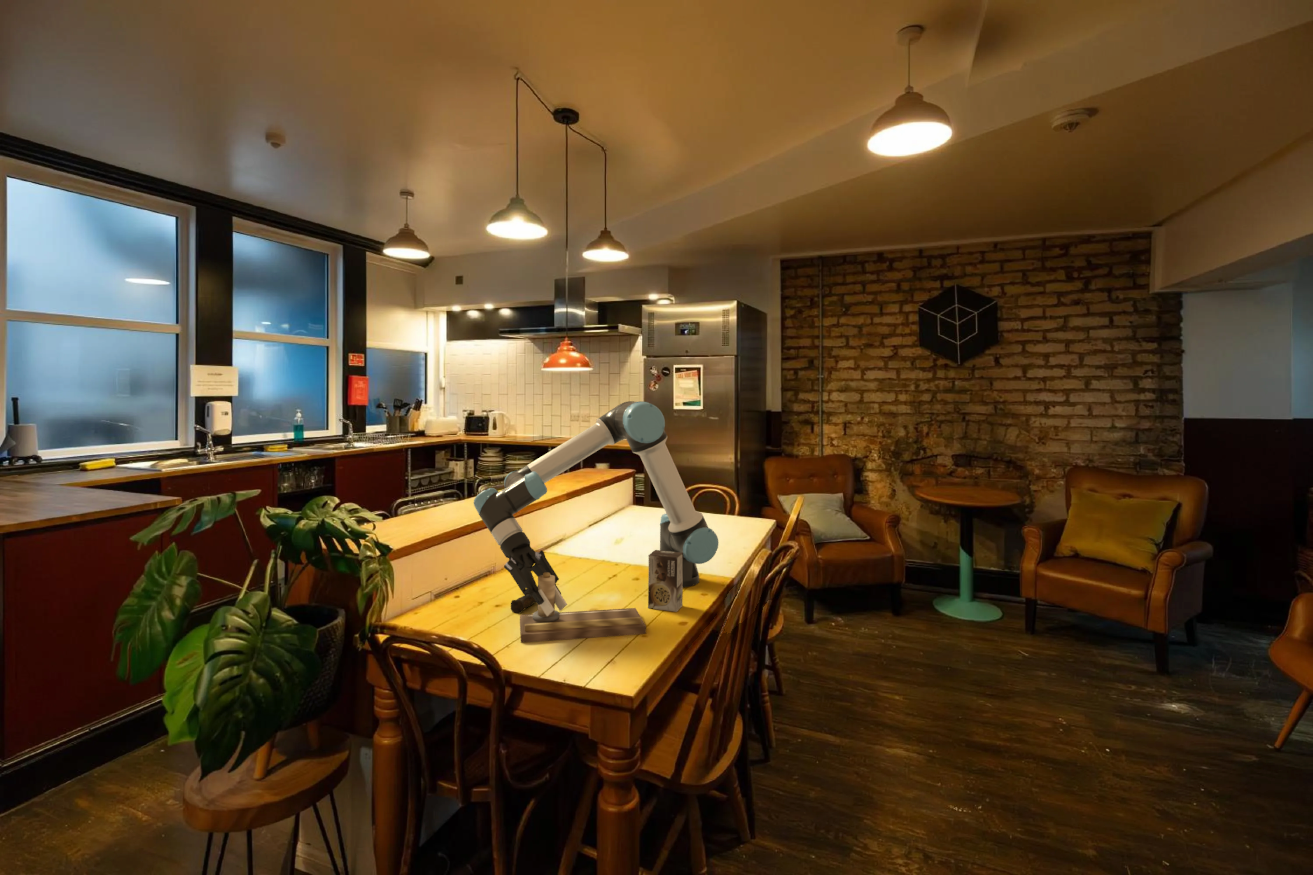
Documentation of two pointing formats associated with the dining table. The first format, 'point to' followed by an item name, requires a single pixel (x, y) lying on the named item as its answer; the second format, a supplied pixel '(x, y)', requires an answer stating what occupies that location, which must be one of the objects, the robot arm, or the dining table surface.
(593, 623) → the walnut board
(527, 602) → the hand tool
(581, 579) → the dining table surface
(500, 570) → the dining table surface
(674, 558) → the coffee box
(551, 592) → the peg with round base
